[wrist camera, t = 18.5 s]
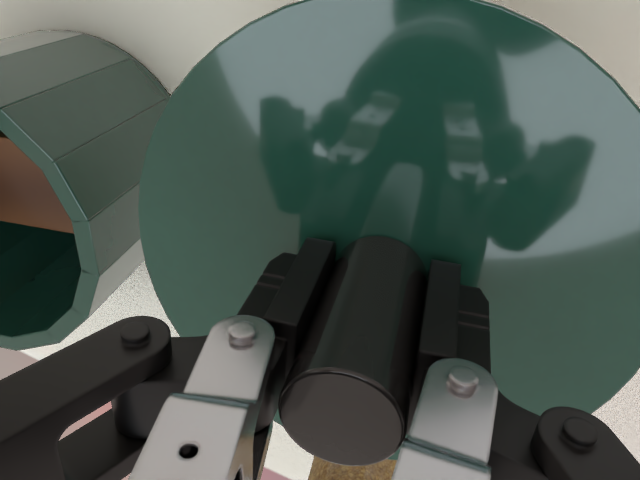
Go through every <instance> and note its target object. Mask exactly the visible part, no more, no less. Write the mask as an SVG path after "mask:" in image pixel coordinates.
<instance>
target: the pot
mask: <svg viewBox="0 0 640 480" xmlns="http://www.w3.org/2000/svg"><path fill="white" fill-rule="evenodd" d="M169 99H170V96H169V94H168V93H167V91H166V90H165V88H164V87H163V86H162V85H161V84H160V83H159V81H158V80H157V79H156V78H155V77H154V75H152V74H151V73H150V72H149V71H148V70H147V69H146V68H145V67H144V66H143V65H142V64H141V63H140V62H138V61H137V60H136V59H135V58H133V57H132V56H131V55H129V54H128V53H127V52H125V51H123V50H122V49H120V48H118V47H117V46H115V45H113V44H111V43H109V42H107V41H105V40H102V39H100V38H98V37H95V36H91V35H88V34H85V33H81V32H75V31H68V30H51V31H45V30H38V31H34V32H29V33H25V34H21V35H17V36H13V37H8V38H4V39H0V131H2V132H3V133H4V134H5V135H6V136H7V137H8V138H9V139H10V140H11V141H12V142H13V143H14V144H15V145H16V146H17V147H18V148H19V149H20V150H21V151H22V152H23V153H24V154H25V155H26V156H28V157H29V158H30V159H31V160H32V161H33V162H34V163H35V164H36V165H37V166H38V167H39V168H40V169H41V170H42V172H43V173H44V175H45V177H46V178H47V180H48V182H49V184H50V185H51V187H52V189H53V190H54V192H55V194H56V196H57V197H58V199H59V201H60V202H61V204H62V206H63V207H64V209H65V211H66V213H67V214H68V216H69V218H70V219H71V222H72V227H73V232H74V234H72V233H67V232H61V231H55V230H50V229H44V228H39V227H33V226H27V225H22V224H16V223H10V222H5V221H0V347H1V348H6V349H11V350H16V351H17V350H25V349H30V348H36V347H41V346H46V345H52V344H57V343H60V342H61V341H62V340H64V339H65V338H66V337H67V336H68V335H69V334H70V333H72V332H73V331H74V330H75V329H76V328H77V327H79V326H80V325H81V324H82V323H83V322H84V321H85V320H87V319H88V318H89V317H90V316H91V315H92V314H93V313H94V312H95V311H96V310H97V309H98V307H99V306H100V305H101V304H102V303H103V302H104V301H105V300H106V299H107V298H108V297H109V296H110V295H111V294H112V293H113V292H114V291H115V290H116V289H117V288H118V287H119V286H120V285H121V284H122V283H123V282H124V281H125V280H126V279H127V278H128V277H129V276H130V275H131V274H132V273H133V272H134V271H135V270H136V269H137V268H138V267H139V266H140V265H141V264H142V262H143V261H144V260H145V259H144V254H143V249H142V244H141V239H140V231H139V217H138V199H139V184H140V176H141V172H142V167H143V162H144V158H145V153H146V149H147V146H148V144H149V141H150V138H151V136H152V133H153V130H154V128H155V125H156V122H157V120H158V118H159V117H160V115H161V113H162V111H163V110H164V108H165V106H166V104H167V102H168V101H169Z"/></svg>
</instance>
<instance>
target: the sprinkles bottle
mask: <svg viewBox="0 0 640 480" xmlns="http://www.w3.org/2000/svg"><path fill="white" fill-rule="evenodd" d="M396 462H397V460H388V459H386V460H383V461H381V462H379V463H376V464H372V465H366V466H345V465H339V464H335V463H331V462H328V461H325V460H323V459H320V458H318V457H316V456H314V460H313V463H312V467H311V470H310V475H309V478H308V480H391V478H392V475H393V472H394V468H395V465H396Z"/></svg>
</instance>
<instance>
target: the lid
mask: <svg viewBox="0 0 640 480" xmlns="http://www.w3.org/2000/svg"><path fill="white" fill-rule="evenodd" d="M138 217H139V231H140V239H141V244H142V249H143V254H144V259H145V264H146V267H147V270H148V272H149V275H150V278H151V281H152V284H153V287H154V290H155V292H156V294H157V296H158V298H159V300H160V303H161V305H162V307H163V309H164V311H165V313H166V315H167V317H168V318H169V320H170V321H171V323H172V325H173V326H174V328H175V329H176V331H177V333H178V334H179V336H180V337H198V336H206V335H208V334H209V332H210V330H211V328H212V327H213V326H214V325H215V324H216V323H217V322H219V321H221V320H222V319H225V318H227V317H231V316H236V315H237V314H238V312H239V310H240V309H241V307H242V306H243V304H244V302H245V301H246V299H247V297H248V296H249V294H250V293H251V291H252V289H253V288H254V286H255V285H256V284H257V281H258V279H259V278H260V276H261V275H262V274H263V271H264V270H265V268H266V266H267V265H268V263H269V262H270V261H271V260H272V259H274V258H275V257H277V256H279V255H280V254H282V253H283V252H286V253H291V254H298V253H299V251H300V249H301V247H302V245H303V243H304V241H305V240H306V238H307V237H310V238H316V239H321V240H327V241H333V242H336V255H335V264H334V266H333V269H332V271H331V274H330V276H329V278H328V281H327V283H326V285H325V288H324V290H323V293H322V295H321V297H320V300H319V302H318V304H317V307H316V309H315V312H314V314H313V316H312V319H311V321H310V323H309V326H308V328H307V330H306V333H305V335H304V338H303V340H302V342H301V345H300V347H299V349H298V352H297V354H296V357H295V359H294V361H293V364H292V366H291V368H290V371H289V373H288V375H287V378H286V380H285V383H284V385H283V387H282V390H281V392H280V395H279V399H278V409H277V412H276V414H275V417H274V419H273V421H275V422H277V423H278V424H280V425H282V426H283V427H284V428H285V430H286V432H287V433H288V434H289V436H290V437H291V438H292V439H293V440H294V441H295V442H296V443H297V444H298V445H299V446H300V447H302V448H303V449H304V450H306V451H307V452H309V453H311V454H312V455H314V456H316V457H318V458H320V459H323V460H325V461H328V462H331V463H335V464H339V465H345V466H366V465H372V464H376V463H379V462H381V461H383V460H386V459H388V460H397V459H398V456H399V453H400V449H401V446H402V443H403V441H404V438H407V436H408V434H406V432H407V425H408V418H409V411H410V404H411V397H412V383H413V376H414V369H415V362H416V355H417V348H418V341H419V334H420V327H421V320H422V313H423V306H424V299H425V292H426V285H427V279H428V274H429V269H430V264H431V259H434V260H440V261H445V262H451V263H457V264H461V278H460V285H466V286H471V287H477V288H480V289H481V291H482V292H483V294H484V295H485V297H486V298H487V300H488V301H489V322H490V328H489V331H490V357H491V375H492V376H493V377H494V379H495V380H496V382H497V385H498V390H499V391H500V392H501V393H502V394H503V395H504V396H505V397H506V398H507V399H509V400H510V401H511V402H513V403H514V404H516V405H518V406H520V407H522V408H524V409H526V410H528V411H530V412H532V413H535V414H537V415H539V416H541V414H542V413H543V412H544V411H546V410H547V409H550V408H553V407H560V406H564V407H572V408H576V409H580V410H583V411H585V412H587V413H589V414H592V413H593V412H594V411H596V410H597V409H598V408H600V407H601V406H602V405H604V404H605V403H606V402H607V401H609V400H610V399H611V398H612V397H613V396H614V395H615V394H616V393H617V392H618V391H619V390H620V389H621V388H622V387H623V386H624V385H625V384H626V383H627V382H628V381H629V380H630V379H631V378H632V377H633V376H634V375H635V374H636V372H637V371H638V370H639V368H640V108H639V107H638V106H637V105H636V104H635V102H634V101H633V100H632V99H631V97H630V96H629V95H628V94H627V93H626V91H625V90H624V89H623V88H622V87H621V85H620V84H619V83H618V82H617V81H616V79H615V78H614V77H613V76H612V75H611V74H610V73H609V72H608V71H607V70H606V69H605V68H604V67H602V66H601V65H600V64H599V63H598V62H597V61H596V60H594V59H593V58H592V57H591V56H590V55H589V54H588V53H587V52H585V51H584V50H583V49H582V48H581V47H580V46H579V45H577V44H576V43H574V42H572V41H571V40H569V39H568V38H566V37H565V36H563V35H562V34H560V33H558V32H557V31H555V30H554V29H552V28H551V27H549V26H548V25H546V24H544V23H543V22H541V21H539V20H537V19H535V18H532V17H530V16H528V15H526V14H524V13H521V12H519V11H517V10H515V9H512V8H510V7H508V6H506V5H504V4H501V3H498V2H495V1H491V0H299V1H296V2H293V3H290V4H287V5H285V6H283V7H281V8H279V9H277V10H275V11H272V12H270V13H268V14H266V15H264V16H262V17H260V18H258V19H256V20H254V21H252V22H249V23H248V24H247V25H245V26H244V27H242V28H241V29H239V30H238V31H236V32H235V33H233V34H232V35H230V36H229V37H227V38H226V39H224V40H223V41H222V42H220V43H219V44H218V45H217V46H215V47H214V48H213V49H212V50H211V51H210V52H209V53H208V54H207V55H206V56H205V57H204V58H203V59H201V60H200V61H199V62H198V63H197V64H196V65H195V66H194V67H193V68H192V69H191V71H190V72H189V73H188V74H187V76H186V77H185V78H184V80H183V81H182V82H181V83H180V85H179V86H178V87H177V88H176V90H175V91H174V92H173V94H172V95H171V97H170V99H169V101H168V102H167V104H166V106H165V108H164V110H163V111H162V113H161V115H160V117H159V118H158V120H157V122H156V125H155V128H154V130H153V133H152V136H151V138H150V141H149V144H148V146H147V149H146V153H145V158H144V162H143V167H142V172H141V176H140V184H139V199H138Z"/></svg>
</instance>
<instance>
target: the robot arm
mask: <svg viewBox="0 0 640 480" xmlns="http://www.w3.org/2000/svg"><path fill="white" fill-rule="evenodd" d="M335 255H336V242H333V241H327V240H321V239H316V238H310V237H307V238H306V240H305V241H304V243H303V245H302V247H301V249H300V251H299V253H298V254H291V253H286V252H283V253H282V254H280V255H279V256H277V257H275V258H274V259H272V260H271V261H270V262H269V263H268V265H267V266H266V268H265V270H264V271H263V274H262V275H261V276H260V278H259V279H258V281H257V284H256V285H255V286H254V288H253V289H252V291H251V293H250V294H249V296H248V297H247V299H246V301H245V302H244V304H243V306H242V307H241V309H240V310H239V312H238V314H237V315H236V316H231V317H227V318H225V319H222V320H221V321H219V322H217V323H216V324H215V325H214V326H213V327H212V328H211V330H210V332H209V334H208V335H206V336H198V337H171V334H170V329H169V327H168V325H167V324H166V323H165V322H163V321H162V320H160V319H157V318H154V317H149V316H135V317H129V318H126V319H122V320H120V321H118V322H116V323H114V324H112V325H110V326H108V327H106V328H104V329H102V330H100V331H98V332H96V333H94V334H92V335H90V336H88V337H86V338H84V339H82V340H80V341H78V342H76V343H74V344H72V345H70V346H68V347H66V348H64V349H62V350H60V351H58V352H56V353H54V354H52V355H50V356H48V357H46V358H44V359H42V360H40V361H38V362H36V363H34V364H32V365H30V366H28V367H26V368H24V369H22V370H20V371H18V372H16V373H14V374H12V375H10V376H8V377H6V378H4V379H2V380H0V480H121V479H123V478H124V477H126V476H127V475H128V474H130V473H131V474H130V476H129V478H128V480H260V479H261V475H262V471H263V466H264V462H265V458H266V454H267V450H268V445H269V441H270V437H271V433H272V427H273V419H274V417H275V414H276V412H277V409H278V399H279V395H280V392H281V390H282V387H283V385H284V383H285V380H286V378H287V375H288V373H289V371H290V368H291V366H292V364H293V361H294V359H295V357H296V354H297V352H298V349H299V347H300V345H301V342H302V340H303V338H304V335H305V333H306V330H307V328H308V326H309V323H310V321H311V319H312V316H313V314H314V312H315V309H316V307H317V304H318V302H319V300H320V297H321V295H322V293H323V290H324V288H325V285H326V283H327V281H328V278H329V276H330V274H331V271H332V269H333V266H334V264H335ZM460 278H461V264H457V263H451V262H445V261H440V260H434V259H431V264H430V269H429V274H428V279H427V285H426V292H425V299H424V306H423V313H422V320H421V327H420V334H419V341H418V348H417V355H416V362H415V369H414V376H413V383H412V397H411V404H410V411H409V418H408V425H407V432H406V434H408V436H407V438H404V441H403V443H402V446H401V449H400V453H399V456H398V459H397V462H396V465H395V468H394V472H393V475H392V478H391V480H640V464H639V463H638V461H637V460H636V459H635V458H634V457H633V455H632V454H631V453H630V452H629V451H628V449H627V448H626V447H625V446H624V445H623V443H622V442H621V441H620V440H619V439H618V438H617V436H616V435H615V434H614V433H613V432H612V430H611V429H610V428H609V427H608V426H607V425H606V424H605V423H603V422H602V421H601V420H599V419H598V418H596V417H595V416H593V415H591V414H589V413H587V412H585V411H583V410H580V409H576V408H572V407H564V406H560V407H553V408H550V409H547V410H546V411H544V412H543V413H542V414H541V416H539V415H537V414H535V413H532V412H530V411H528V410H526V409H524V408H522V407H520V406H518V405H516V404H514V403H513V402H511V401H510V400H509V399H507V398H506V397H505V396H504V395H503V394H502V393H501V392H500V391H499V390H498V385H497V382H496V380H495V379H494V377H493V376H492V375H491V357H490V331H489V328H490V322H489V301H488V300H487V298H486V297H485V295H484V294H483V292H482V291H481V289H480V288H477V287H471V286H466V285H460ZM110 401H111V404H112V409H110V410H109V411H107V412H105V413H104V414H102V415H100V416H99V417H97V418H96V419H94V420H92V421H91V422H89V423H87V424H86V425H84V426H83V427H81V428H79V429H78V430H76V431H74V432H73V433H71V434H70V435H68V436H66V437H65V438H63V439H61V440H60V441H59V439H60V437H61V435H62V434H63V432H64V431H65V430H66V429H67V428H68V427H69V426H70V425H72V424H73V423H75V422H76V421H78V420H80V419H81V418H83V417H85V416H86V415H88V414H90V413H91V412H93V411H95V410H96V409H98V408H100V407H101V406H103V405H105V404H106V403H108V402H110Z"/></svg>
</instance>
